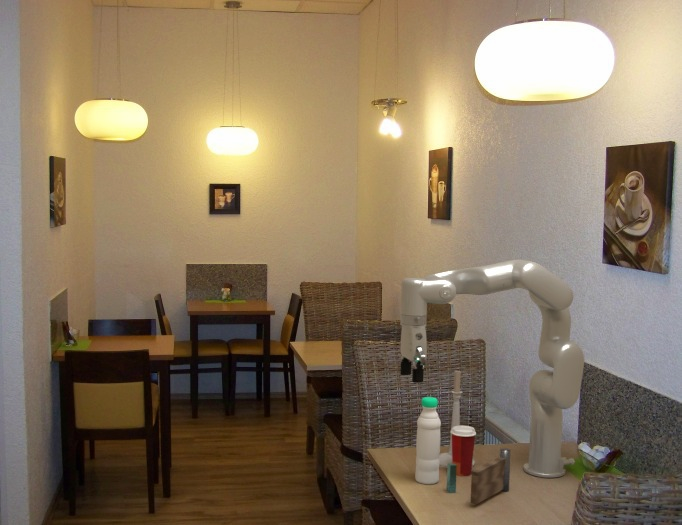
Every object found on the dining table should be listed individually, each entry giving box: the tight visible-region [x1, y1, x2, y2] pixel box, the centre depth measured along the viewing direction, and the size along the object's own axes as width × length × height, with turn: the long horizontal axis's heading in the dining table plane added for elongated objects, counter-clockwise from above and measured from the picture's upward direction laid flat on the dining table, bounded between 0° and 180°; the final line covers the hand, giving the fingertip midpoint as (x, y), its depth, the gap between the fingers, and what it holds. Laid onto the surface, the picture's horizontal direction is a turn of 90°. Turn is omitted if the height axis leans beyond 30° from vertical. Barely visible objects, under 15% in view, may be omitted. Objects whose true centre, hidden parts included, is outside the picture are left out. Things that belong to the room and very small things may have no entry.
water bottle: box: [414, 396, 442, 485], centre depth 242 cm, size 7×7×25 cm
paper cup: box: [449, 425, 477, 477], centre depth 250 cm, size 8×8×14 cm
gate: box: [470, 456, 505, 505], centre depth 228 cm, size 16×2×9 cm, turn 141°
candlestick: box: [439, 370, 476, 469], centre depth 259 cm, size 13×13×30 cm
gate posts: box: [446, 447, 512, 494], centre depth 235 cm, size 18×3×12 cm, turn 99°
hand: (411, 378), depth 238 cm, fingers open, 9 cm apart
